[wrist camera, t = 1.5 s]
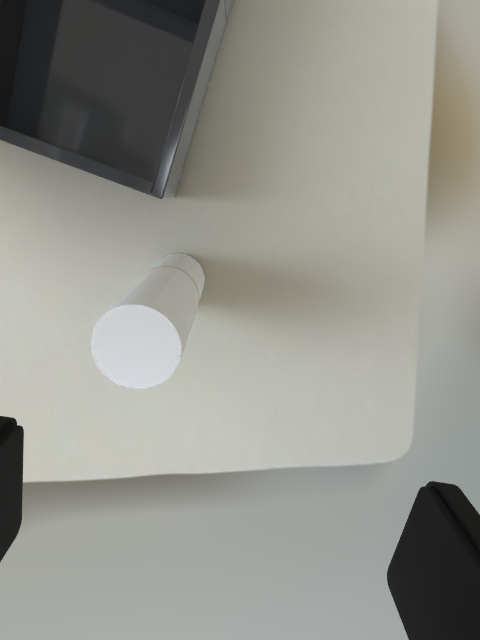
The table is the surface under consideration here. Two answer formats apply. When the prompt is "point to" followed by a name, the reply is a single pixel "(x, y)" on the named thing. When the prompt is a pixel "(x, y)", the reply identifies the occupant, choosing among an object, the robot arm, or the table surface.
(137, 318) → the tube
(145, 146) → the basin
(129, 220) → the table surface
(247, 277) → the table surface
